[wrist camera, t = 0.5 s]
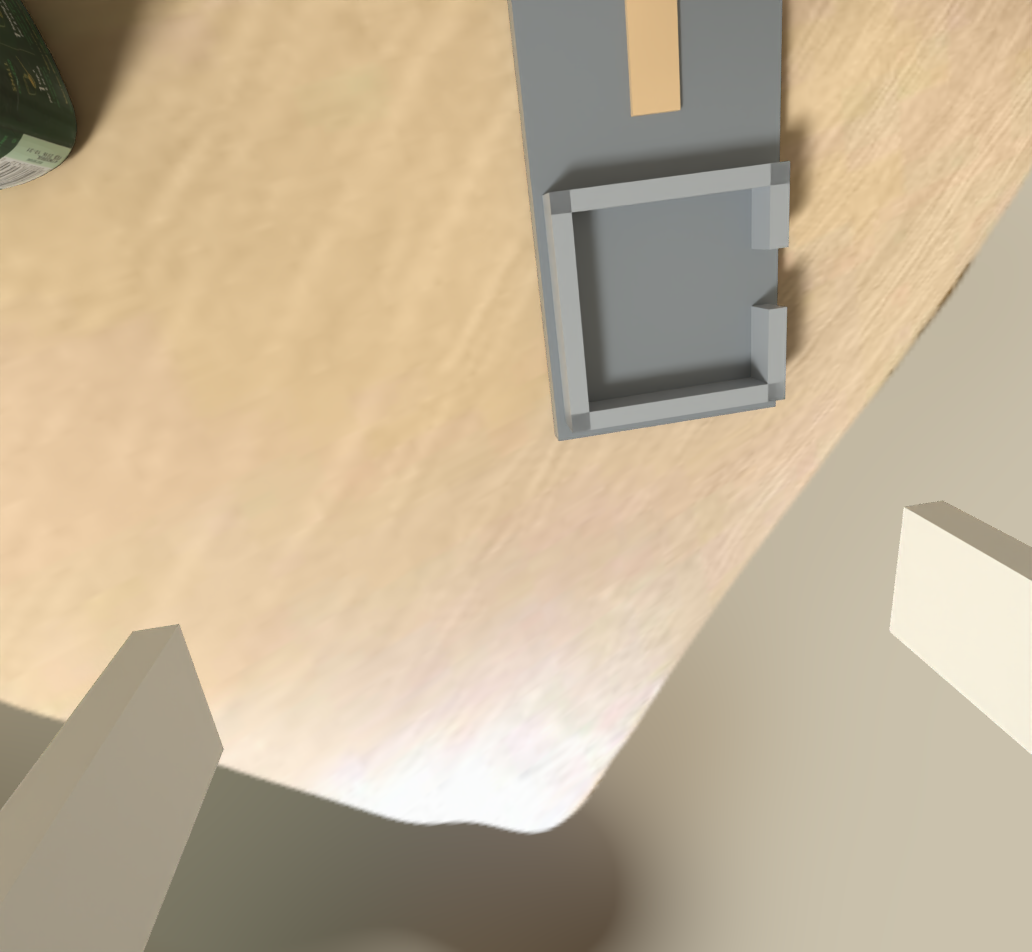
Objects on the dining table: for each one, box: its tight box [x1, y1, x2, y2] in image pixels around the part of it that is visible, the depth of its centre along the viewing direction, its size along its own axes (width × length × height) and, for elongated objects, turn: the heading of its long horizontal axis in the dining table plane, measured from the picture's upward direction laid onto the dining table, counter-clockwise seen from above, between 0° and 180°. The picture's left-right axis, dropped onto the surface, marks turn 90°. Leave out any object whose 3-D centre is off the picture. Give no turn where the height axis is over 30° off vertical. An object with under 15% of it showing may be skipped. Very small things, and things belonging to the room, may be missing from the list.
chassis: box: [507, 0, 790, 441], centre depth 33 cm, size 24×13×3 cm, turn 7°
